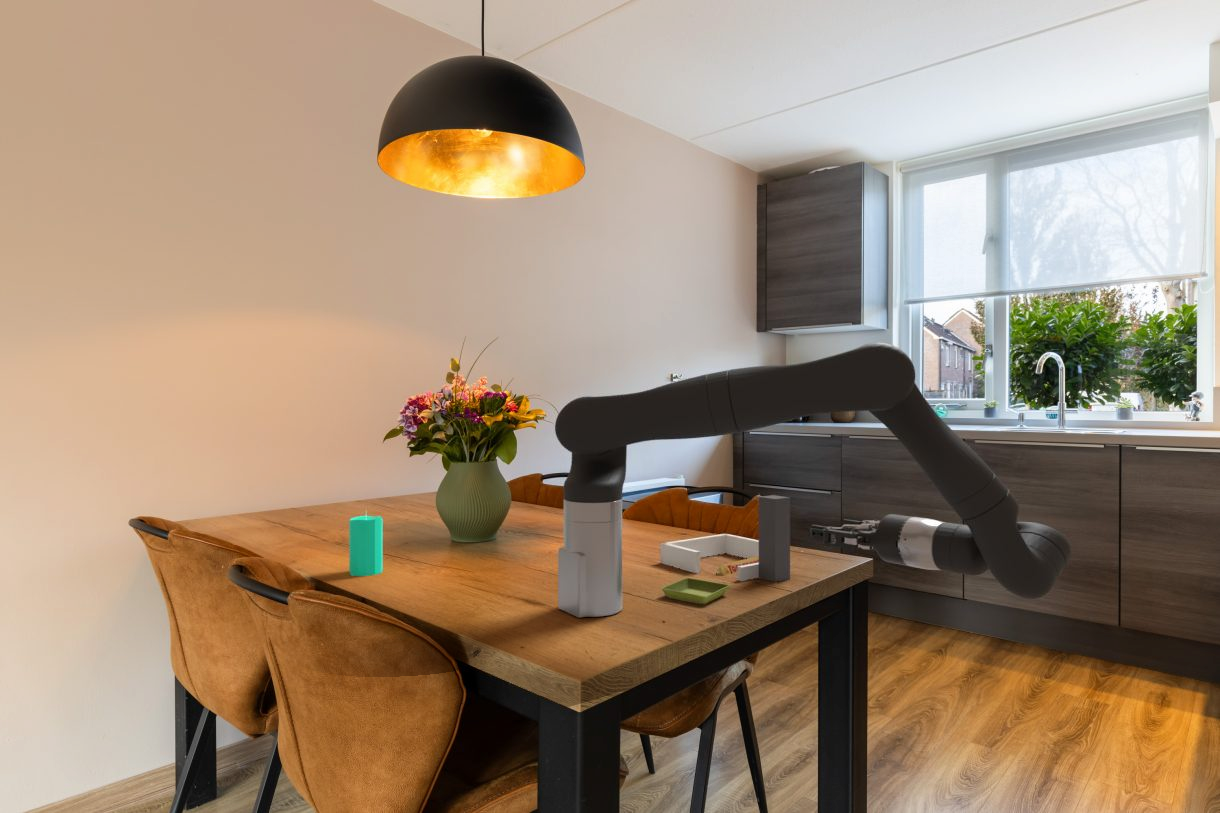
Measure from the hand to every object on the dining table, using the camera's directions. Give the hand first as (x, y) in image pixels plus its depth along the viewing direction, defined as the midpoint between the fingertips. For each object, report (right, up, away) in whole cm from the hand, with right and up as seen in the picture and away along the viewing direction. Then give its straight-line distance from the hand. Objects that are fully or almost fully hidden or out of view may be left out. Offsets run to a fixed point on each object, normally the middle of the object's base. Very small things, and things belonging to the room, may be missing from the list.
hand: (826, 528), depth 118 cm
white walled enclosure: (-16, -11, +23) cm, 30 cm away
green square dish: (-23, -11, -3) cm, 26 cm away
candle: (-84, -11, +14) cm, 86 cm away
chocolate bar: (-12, -12, +16) cm, 23 cm away
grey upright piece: (-7, -11, +9) cm, 16 cm away
